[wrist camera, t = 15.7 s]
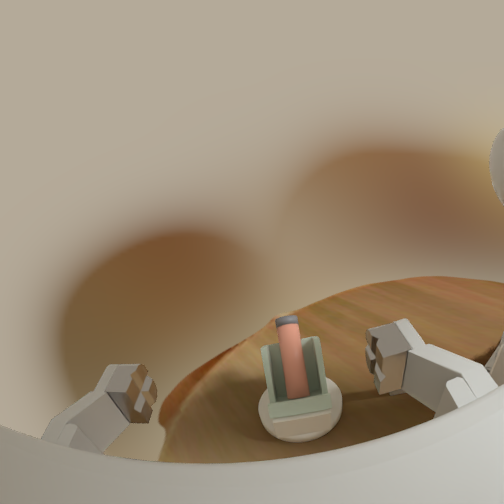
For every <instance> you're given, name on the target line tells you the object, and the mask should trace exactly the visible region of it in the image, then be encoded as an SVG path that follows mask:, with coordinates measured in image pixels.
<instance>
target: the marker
mask: <svg viewBox="0 0 504 504" xmlns="http://www.w3.org/2000/svg"><path fill="white" fill-rule="evenodd" d="M275 322H276V328H277V333H278V339H279V346H280V352H281V358H282V365H283V371H284V378H285V385H286V391H287V398H288V399H295V398H301V397H306V396H310V392H309V386H308V379H307V373H306V367H305V361H304V355H303V349H302V344H301V338H300V332H299V327H298V319H297V316H293V315H292V316H284V317H280V318H278V319H276V320H275Z"/></svg>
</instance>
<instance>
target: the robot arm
mask: <svg viewBox="0 0 504 504" xmlns="http://www.w3.org/2000/svg"><path fill="white" fill-rule="evenodd" d="M489 164H490V175H491V180H492V184H493V187H494V190H495V192H496V194H497V196H498V198H499V200H500V201H501V203H502V205H503V206H504V128H503V129H501V131H500V132H499V133H498V135H497V136H496V138H495V140H494V142H493V145H492V148H491V153H490V162H489ZM366 340H367V343H368V346H367V347H366V362H367V366H368V369H369V371H370V373H372V374H373V375H374V383H375V386H376V388H377V391H378V393H379V395H380V394H384V393H388V392H391V391H395V390H398V389H402V390H403V391H405V392H406V393H408V394H409V395H411V396H412V397H413V398H415V399H416V400H418V401H419V402H421V403H422V404H424V405H425V406H427V407H428V408H430V409H431V410H433V411H434V412H436V413H435V416H434V418H433V419H432V420H430V421H427V422H425V423H422V424H419V425H417V426H414V427H411V428H409V429H406V430H403V431H400V432H397V433H394V434H391V435H388V436H385V437H381V438H378V439H375V440H371V441H368V442H364V443H360V444H356V445H352V446H348V447H344V448H340V449H335V450H331V451H326V452H321V453H315V454H310V455H304V456H298V457H291V458H284V459H276V460H266V461H256V462H241V463H211V464H201V463H171V462H157V461H146V460H137V459H128V458H121V457H115V456H108V455H105V454H103V452H104V451H105V450H106V449H107V448H108V447H109V446H110V445H111V444H112V442H114V440H115V439H116V438H117V437H118V436H119V435H120V434H121V433H122V432H123V431H124V430H125V429H126V428H127V427H128V426H129V425H130V423H149V420H150V417H151V414H152V409H151V406H152V405H153V404H154V403H155V402H156V398H157V388H156V385H155V383H154V381H153V379H151V378H150V377H148V376H147V373H148V370H147V369H146V367H145V366H144V365H142V364H120V365H118V364H115V365H113V364H112V365H109V366H107V368H106V370H105V371H104V373H103V375H102V377H101V379H100V380H99V382H98V384H97V386H96V388H95V390H94V391H93V392H89V393H88V394H86V395H85V396H84V397H82V398H81V399H79V400H78V401H77V402H75V403H74V404H72V405H71V406H70V407H68V408H67V409H65V410H64V411H63V412H61V413H60V414H58V415H57V416H55V417H54V418H53V419H52V420H51V421H50V423H49V425H48V427H47V428H46V430H45V432H44V434H43V436H42V438H41V439H38V438H35V437H32V436H29V435H26V434H23V433H20V432H18V431H15V430H12V429H10V428H7V427H4V426H2V425H0V504H504V332H503V335H502V337H501V342H500V344H499V346H498V347H497V349H496V350H495V352H494V353H493V355H492V356H491V358H490V359H489V360H488V362H487V363H486V365H485V366H483V365H482V364H479V363H477V362H474V361H472V360H469V359H466V358H464V357H461V356H459V355H456V354H454V353H451V352H449V351H446V350H444V349H441V348H439V347H436V346H434V345H431V344H427V345H426V344H425V343H424V341H423V340H422V339H421V337H420V336H419V334H418V333H417V332H416V330H415V329H414V327H413V326H412V325H411V323H410V322H409V321H408V319H406V318H405V319H401V320H398V321H395V322H393V323H389V324H386V325H382V326H378V327H375V328H371V329H367V330H366Z"/></svg>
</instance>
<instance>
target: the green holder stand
mask: <svg viewBox="0 0 504 504" xmlns="http://www.w3.org/2000/svg"><path fill="white" fill-rule="evenodd" d="M301 344H302V349H303V355H304V361H305V367H306V373H307V379H308V386H309V392H310V396H306V397H301V398H295V399H288V398H287V391H286V385H285V378H284V371H283V365H282V358H281V352H280V346H279V343H277V344H271V345H265V346H263V347H262V348H261V354H262V360H263V366H264V372H265V377H266V383H267V389H266V391H265V392H264V393H263V395H262V396H261V399H260V401H259V407H258V410H259V415H260V418H261V421H262V424H263V426H264V428H265V429H266V430H267V431H268V432H269V433H270V434H271V435H272V436H274V437H276V438H278V439H280V440H283V441H287V442H294V443H300V442H307V441H312V440H314V439H317V438H319V437H321V436H323V435H325V434H326V433H328V432H329V431H330V430H332V428H333V427H334V426H335V425H336V424H337V422H338V421H339V419H340V416H341V414H342V394H341V391H340V389H339V388H338V386H337V385H336V384H335V383H334V382H333V381H332V380H330V379H329V378H327V377H326V376H325V369H324V363H323V357H322V351H321V345H320V339H319V337H317V336H314V337H309V338H304V339H301Z"/></svg>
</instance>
